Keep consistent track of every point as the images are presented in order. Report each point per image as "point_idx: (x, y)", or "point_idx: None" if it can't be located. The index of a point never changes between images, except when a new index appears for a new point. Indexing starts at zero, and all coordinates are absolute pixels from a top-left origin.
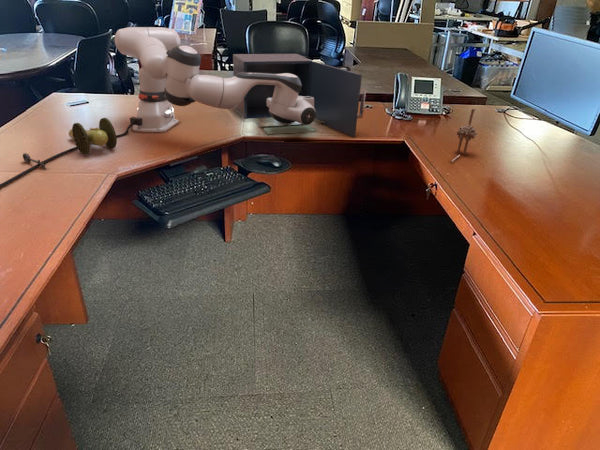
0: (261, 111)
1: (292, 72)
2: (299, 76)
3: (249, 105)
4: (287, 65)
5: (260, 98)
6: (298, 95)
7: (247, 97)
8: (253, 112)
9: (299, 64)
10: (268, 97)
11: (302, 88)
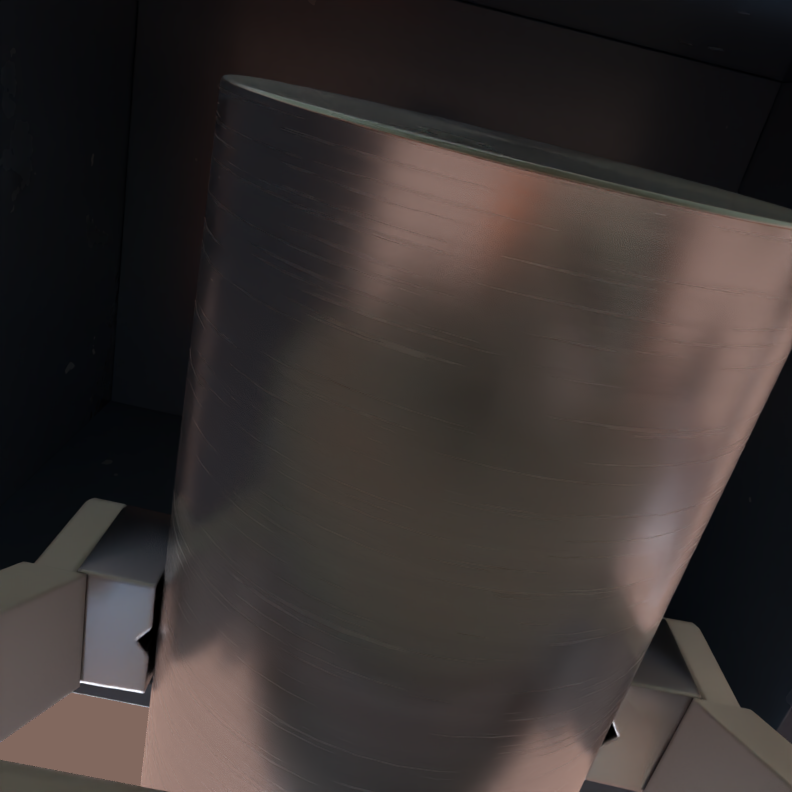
0: (618, 8)
1: (144, 282)
2: (61, 295)
3: (645, 72)
4: (188, 351)
5: (507, 116)
6: (71, 73)
7: (635, 165)
8: (747, 35)
9: (65, 398)
10: (420, 103)
11: (1, 206)
